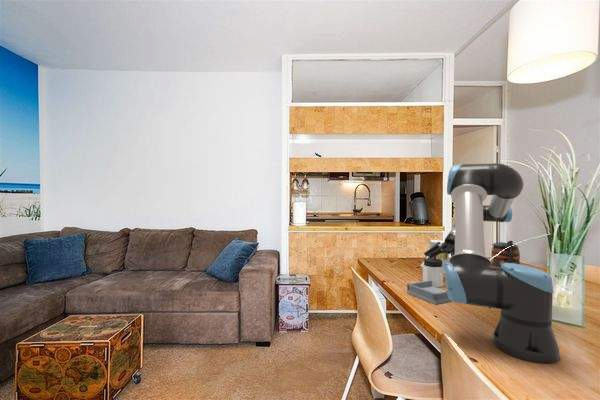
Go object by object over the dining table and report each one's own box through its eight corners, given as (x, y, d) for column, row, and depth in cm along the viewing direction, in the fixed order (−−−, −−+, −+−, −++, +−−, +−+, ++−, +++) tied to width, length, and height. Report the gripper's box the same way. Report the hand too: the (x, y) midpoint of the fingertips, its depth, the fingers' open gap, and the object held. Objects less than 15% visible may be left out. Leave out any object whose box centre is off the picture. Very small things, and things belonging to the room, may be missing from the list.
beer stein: (530, 282, 151) (531, 242, 151) (497, 279, 155) (498, 240, 155) (515, 272, 169) (515, 236, 169) (485, 270, 173) (486, 235, 173)
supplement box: (430, 271, 170) (430, 241, 169) (428, 267, 179) (428, 239, 178) (449, 273, 167) (449, 242, 167) (446, 269, 176) (446, 240, 175)
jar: (435, 288, 140) (435, 262, 140) (419, 284, 147) (419, 259, 147) (446, 285, 145) (446, 260, 145) (430, 281, 152) (430, 257, 152)
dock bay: (459, 299, 126) (459, 289, 126) (435, 304, 120) (435, 294, 120) (430, 288, 140) (430, 280, 140) (407, 293, 134) (407, 284, 134)
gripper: (482, 247, 143) (460, 282, 137) (438, 239, 165) (417, 269, 159) (475, 236, 140) (452, 272, 134) (431, 230, 163) (410, 260, 157)
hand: (433, 271), depth 147 cm, fingers open, 13 cm apart
